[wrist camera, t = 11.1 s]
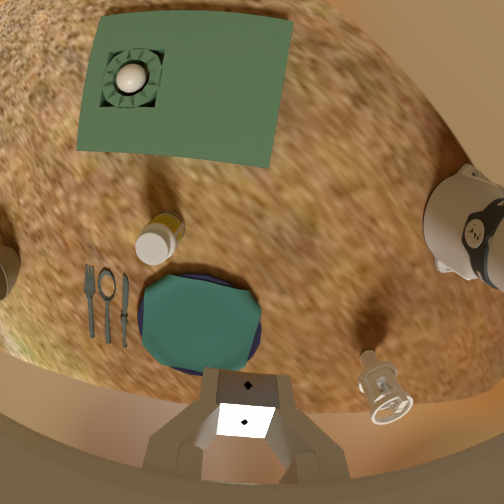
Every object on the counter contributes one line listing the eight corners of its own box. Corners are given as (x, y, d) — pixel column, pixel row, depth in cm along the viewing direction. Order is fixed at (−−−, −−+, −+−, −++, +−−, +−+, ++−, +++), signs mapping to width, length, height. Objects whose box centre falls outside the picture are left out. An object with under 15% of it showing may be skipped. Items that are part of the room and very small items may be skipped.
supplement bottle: (148, 215, 39) (126, 234, 31) (179, 206, 39) (163, 224, 31) (158, 247, 41) (140, 271, 33) (189, 239, 41) (176, 264, 33)
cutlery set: (246, 377, 50) (246, 386, 48) (91, 339, 48) (86, 347, 46) (275, 283, 44) (276, 290, 42) (87, 241, 41) (80, 246, 39)
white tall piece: (389, 342, 48) (423, 399, 34) (375, 370, 51) (401, 427, 37) (357, 340, 48) (387, 402, 34) (343, 369, 50) (366, 431, 36)
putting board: (290, 27, 30) (293, 21, 28) (267, 166, 37) (268, 168, 35) (108, 21, 28) (100, 16, 26) (85, 149, 35) (76, 150, 33)
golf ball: (155, 65, 30) (131, 59, 27) (149, 93, 32) (125, 89, 29) (136, 68, 32) (113, 63, 29) (131, 95, 34) (108, 92, 30)
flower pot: (3, 282, 43) (-17, 298, 36) (-8, 234, 39) (-32, 247, 32) (35, 285, 43) (14, 304, 36) (23, 233, 39) (-2, 247, 33)
